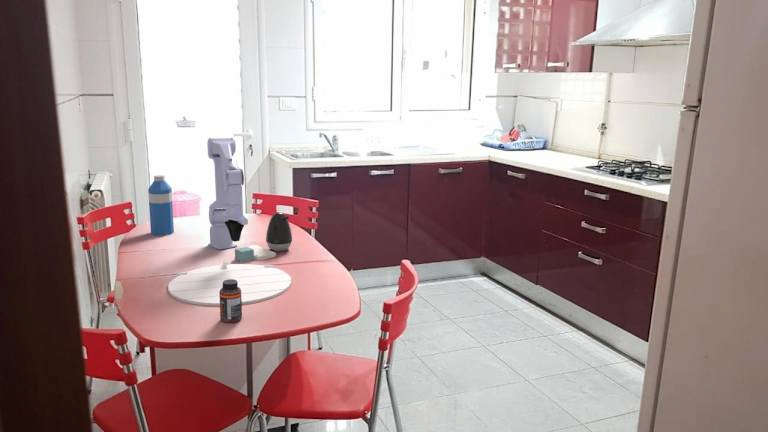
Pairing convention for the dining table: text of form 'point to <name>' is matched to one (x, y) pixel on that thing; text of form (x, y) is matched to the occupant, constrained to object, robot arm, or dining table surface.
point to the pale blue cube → (244, 254)
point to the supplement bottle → (230, 301)
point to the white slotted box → (261, 252)
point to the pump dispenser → (279, 233)
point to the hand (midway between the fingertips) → (235, 240)
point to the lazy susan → (209, 280)
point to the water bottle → (160, 207)
